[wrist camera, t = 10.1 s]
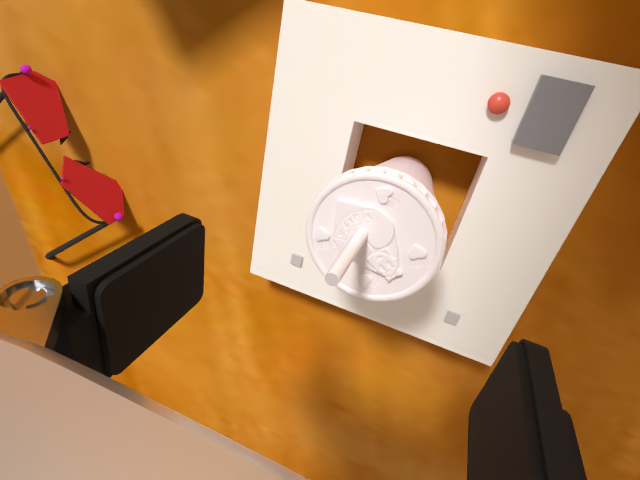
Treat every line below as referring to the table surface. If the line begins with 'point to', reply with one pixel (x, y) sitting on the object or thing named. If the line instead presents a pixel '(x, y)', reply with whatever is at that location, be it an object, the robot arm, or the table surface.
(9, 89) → the glasses
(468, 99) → the socket plate
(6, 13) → the table surface
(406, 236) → the smoothie
